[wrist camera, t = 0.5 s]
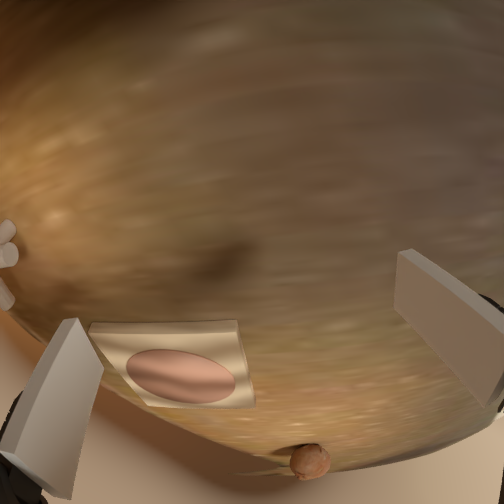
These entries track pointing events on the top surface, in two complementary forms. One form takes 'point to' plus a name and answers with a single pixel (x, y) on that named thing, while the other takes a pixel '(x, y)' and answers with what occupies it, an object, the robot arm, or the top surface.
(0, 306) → the grey toy jack
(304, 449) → the onion
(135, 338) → the board
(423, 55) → the top surface
